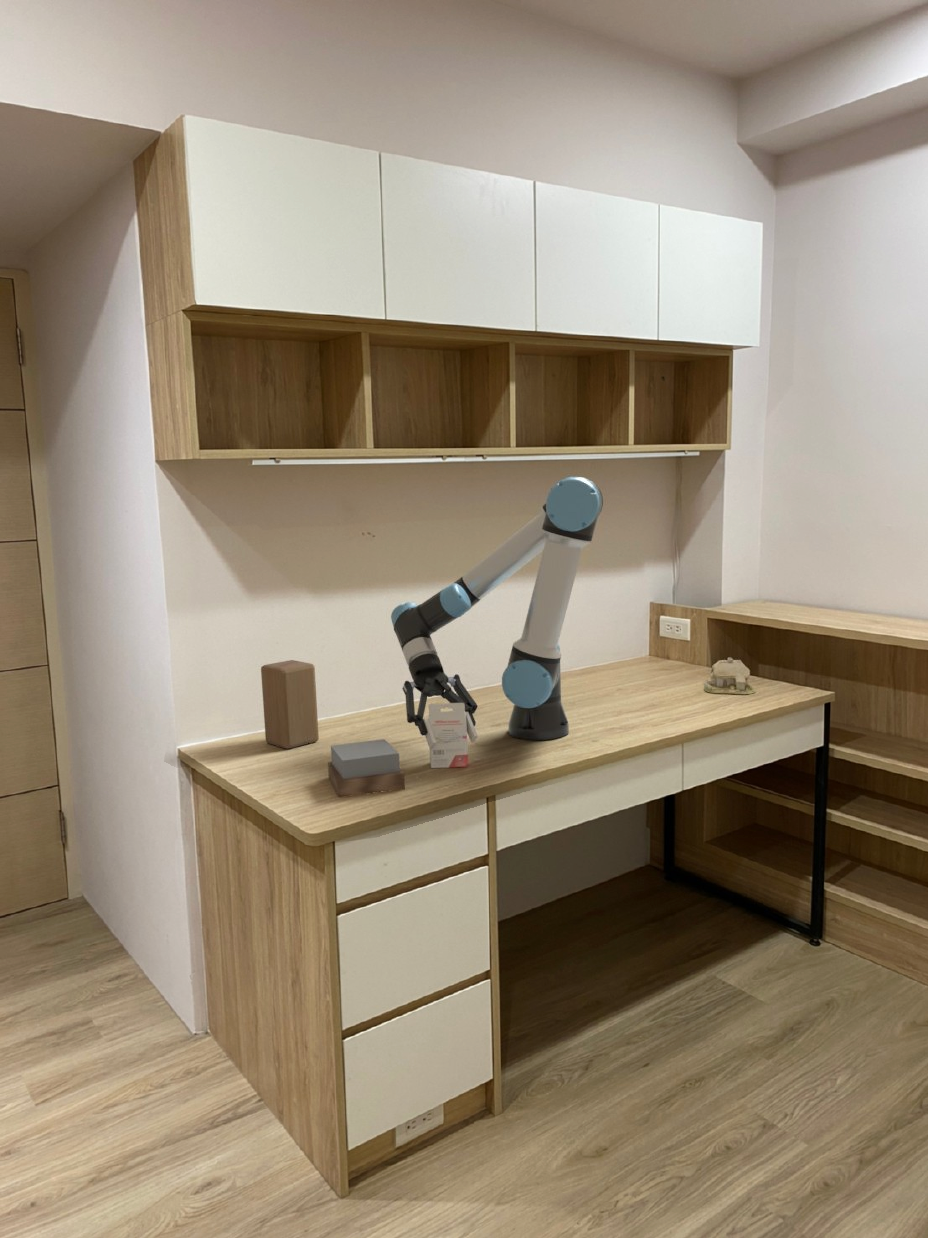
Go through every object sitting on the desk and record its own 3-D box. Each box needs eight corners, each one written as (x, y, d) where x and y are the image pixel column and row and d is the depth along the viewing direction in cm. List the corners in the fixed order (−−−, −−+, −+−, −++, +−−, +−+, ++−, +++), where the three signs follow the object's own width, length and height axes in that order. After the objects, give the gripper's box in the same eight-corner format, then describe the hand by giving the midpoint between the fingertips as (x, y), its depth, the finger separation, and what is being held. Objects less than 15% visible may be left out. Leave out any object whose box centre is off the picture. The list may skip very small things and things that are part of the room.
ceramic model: (750, 686, 278) (750, 653, 277) (757, 695, 267) (758, 661, 266) (701, 687, 280) (701, 654, 278) (707, 696, 269) (707, 661, 267)
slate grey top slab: (385, 756, 207) (384, 739, 206) (399, 771, 196) (399, 753, 195) (331, 763, 203) (330, 745, 203) (343, 779, 192) (342, 760, 191)
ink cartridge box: (468, 760, 213) (466, 697, 211) (468, 767, 208) (466, 703, 206) (430, 762, 213) (428, 699, 211) (429, 768, 208) (427, 704, 206)
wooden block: (264, 743, 234) (259, 665, 231) (297, 735, 241) (292, 658, 238) (286, 750, 227) (281, 669, 224) (320, 741, 234) (316, 663, 231)
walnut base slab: (391, 772, 209) (390, 755, 208) (405, 791, 195) (404, 773, 195) (329, 779, 205) (328, 762, 204) (338, 800, 192) (337, 781, 191)
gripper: (461, 665, 227) (493, 744, 215) (375, 676, 217) (403, 759, 205) (470, 646, 221) (503, 726, 209) (382, 657, 212) (412, 741, 200)
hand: (454, 742), depth 207 cm, fingers closed on ink cartridge box, 9 cm apart
